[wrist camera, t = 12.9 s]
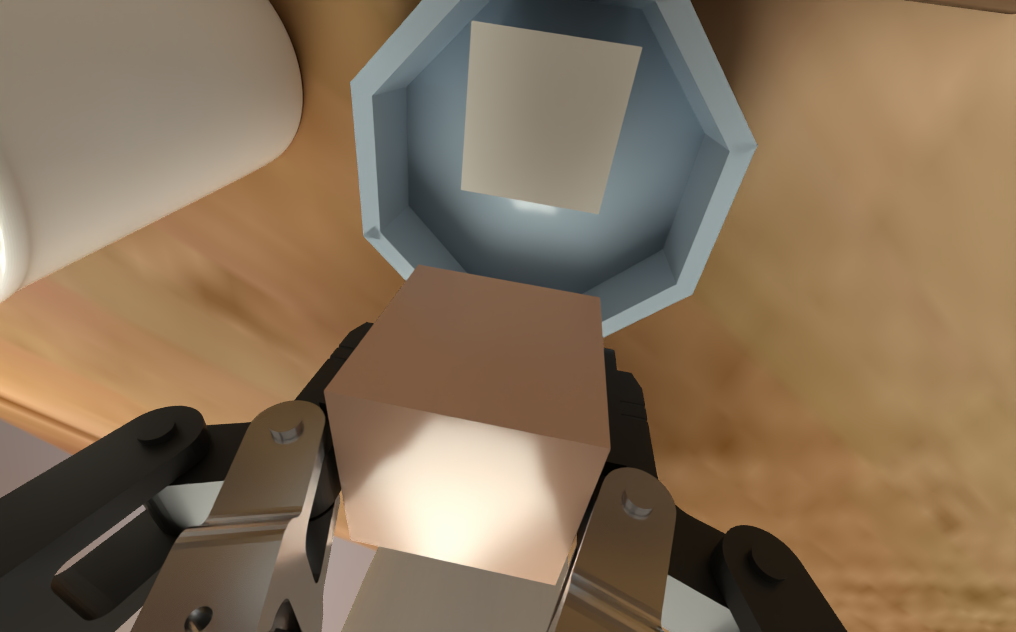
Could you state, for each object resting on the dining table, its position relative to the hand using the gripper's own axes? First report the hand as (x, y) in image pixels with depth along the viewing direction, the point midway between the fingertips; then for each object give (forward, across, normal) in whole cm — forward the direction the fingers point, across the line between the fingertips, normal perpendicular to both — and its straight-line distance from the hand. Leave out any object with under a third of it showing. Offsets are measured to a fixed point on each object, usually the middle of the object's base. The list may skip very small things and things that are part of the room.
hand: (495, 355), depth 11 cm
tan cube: (0, 0, 0) cm, 0 cm away
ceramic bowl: (+10, 0, -3) cm, 10 cm away
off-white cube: (+9, 0, -5) cm, 10 cm away
